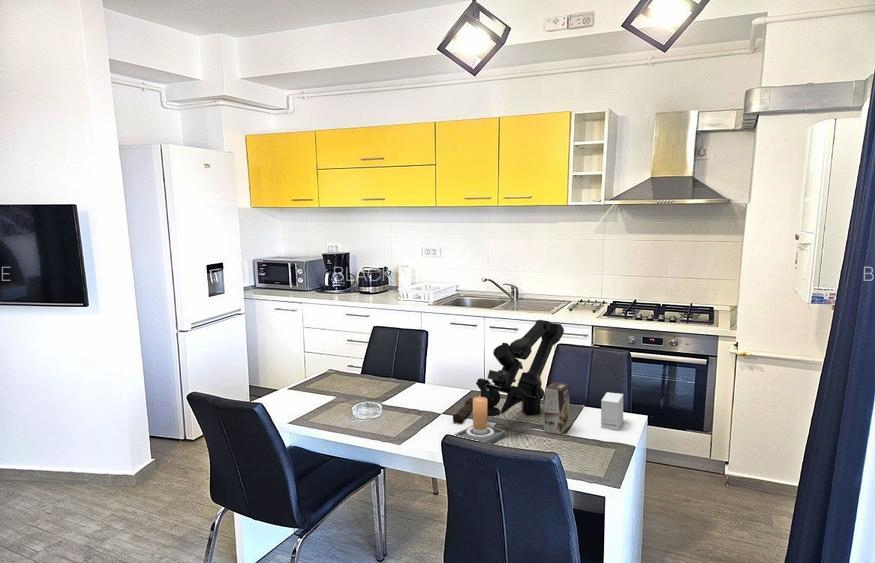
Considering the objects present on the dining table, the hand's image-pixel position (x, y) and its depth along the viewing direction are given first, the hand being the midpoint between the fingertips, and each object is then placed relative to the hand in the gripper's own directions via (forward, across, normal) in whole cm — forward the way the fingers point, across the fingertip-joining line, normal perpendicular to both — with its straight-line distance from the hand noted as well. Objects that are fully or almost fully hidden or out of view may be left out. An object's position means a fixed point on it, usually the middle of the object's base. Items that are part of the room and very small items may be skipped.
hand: (491, 410), depth 200 cm
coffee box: (-6, +16, +19) cm, 26 cm away
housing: (+10, 0, +1) cm, 10 cm away
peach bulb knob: (+10, 0, +1) cm, 10 cm away
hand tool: (+1, -18, +12) cm, 22 cm away
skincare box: (-18, +29, +31) cm, 47 cm away
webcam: (-5, -12, +18) cm, 22 cm away
